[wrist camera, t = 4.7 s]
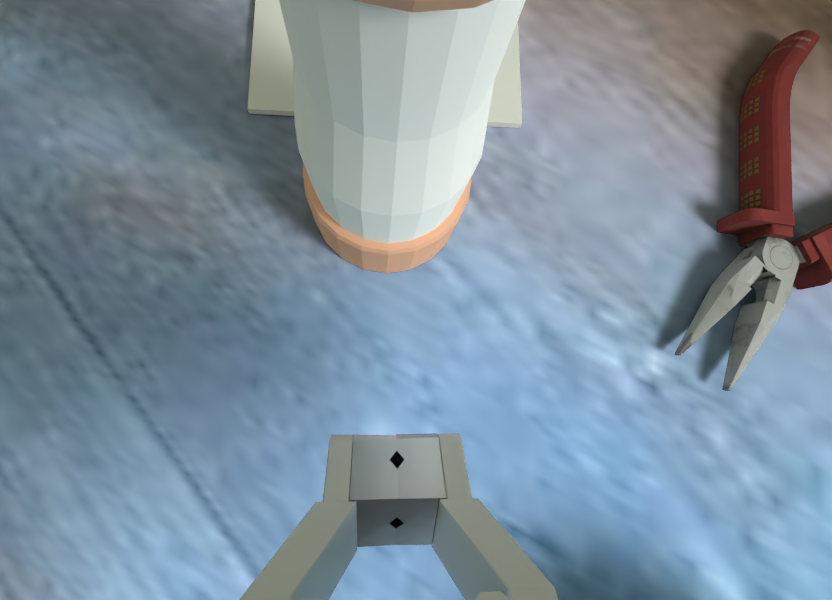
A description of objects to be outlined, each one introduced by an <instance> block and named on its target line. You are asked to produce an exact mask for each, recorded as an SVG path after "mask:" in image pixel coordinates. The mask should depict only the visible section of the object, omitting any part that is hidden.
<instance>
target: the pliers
mask: <svg viewBox="0 0 832 600" xmlns="http://www.w3.org/2000/svg"><path fill="white" fill-rule="evenodd" d="M819 37H820V36H819V35H818V34H816V33H815V32H812V31H809V30H803V31H799V32H796V33H794V34H792V35H790V36H788V37H786V38H785V39H783V40H782V41H781V42H780V43H779V44H778V45H777V46H776V47H775V48H774V49H773V51H772V52H771V53H770V55H769V56H768V57H767V59H766V60H765V62H764V63H763V64H762V66H761V67H760V68H759V70H758V71H757V72H756V74H755V75H754V76H753V78H752V79H751V80H750V82H749V83H748V86H747V88H746V91H745V93H744V96H743V100H742V105H741V112H740V121H739V171H740V211H738V212H735V213H733V214H731V215H729V216H726V217H724V218H722V219H720V220H718V221H717V232H720V233H726V234H733V235H738V238H739V245H742V246H747V247H748V248H745V249H744V250H742V251H741V253H740V254H739V255H738V256H737V257H736V258H735V259H734V260H733V261H732V262H731V263H730V264H729V265H728V266H727V267H726V268H725V269H724V271H723V272H722V273H721V274H720V275H719V276H718V278H717V279H716V280H715V281H714V282H713V284H712V285H711V287H710V288H709V290H708V292H707V294H706V296H705V298H704V300H703V302H702V303H701V305H700V307H699V309H698V311H697V313H696V315H695V317H694V318H693V320H692V322H691V324H690V326H689V328H688V330H687V332H686V333H685V335H684V337H683V339H682V341H681V343H680V345H679V347H678V348H677V350H676V352H675V355H681V354H682V353H684V352H685V351H686V350H687V349H688V348H689V347H690V346H691V345H692V344H693V343H695V342H696V341H697V340H698V339H699V338H700V337H701V336H702V335H703V334H705V333H706V332H707V331H708V330H709V329H710V328H711V327H712V326H713V325H714V324H716V323H717V322H718V321H719V320H720V319H721V318H722V317H723V316H724V315H726V314H727V313H728V312H729V311H730V310H731V309H732V308H733V307H734V306H735V305H736V304H737V303H738V302H739V301H740V300H741V299H742V298H743V297H744V296H745V295H746V294H747V293H748V292H749V291H750V290H751V289H752V288H750V286H752V287H753V288H754V289H755V292H756V300H755V302H754V303H750V304H745V305H741V308H740V311H739V314H738V317H737V321H736V324H735V327H734V332H733V337H732V342H731V348H730V353H729V358H728V363H727V368H726V373H725V379H724V384H723V389H722V390H725V391H730V389H731V388H732V386H733V385H734V383H735V382H736V381H737V379H738V378H739V376H740V375H741V373H742V372H743V370H744V369H745V367H746V366H747V364H748V363H749V361H750V360H751V358H752V357H753V355H754V354H755V352H756V351H757V350H758V348H759V347H760V345H761V344H762V342H763V341H764V339H765V338H766V336H767V335H768V333H769V332H770V330H771V329H772V327H773V326H774V324H775V323H776V321H777V320H778V318H779V317H780V315H781V313H782V311H783V309H784V307H785V304H786V302H787V300H788V297H789V295H790V292H791V289H792V286H793V283H794V284H795V286H796V288H797V289H805V288H810V287H815V286H820V285H825V284H827V283H829V282H831V281H832V223H830V224H828V225H826V226H824V227H822V228H820V229H817V230H815V231H813V232H811V233H809V234H807V235H805V236H802V237H800V238H798V239H796V240H794V241H792V242H790V243H789V242H788V241H786V239H789V238H792V237H794V236H793V227H794V226H795V214H793V208H792V173H791V139H790V95H791V89H792V84H793V81H794V78H795V75H796V73H797V71H798V68H799V67H800V66H801V64H802V63H803V62H804V60H805V59H806V57H807V56H808V54H809V53H810V51H811V50H812V49H813V47H814V46H815V44H816V43H817V41H818V40H819Z"/></svg>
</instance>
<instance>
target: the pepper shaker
mask: <svg viewBox="0 0 832 600" xmlns="http://www.w3.org/2000/svg"><path fill="white" fill-rule="evenodd" d="M279 2H280V6H281V10H282V15H283V19H284V23H285V27H286V31H287V35H288V39H289V44H290V48H291V52H292V57H293V88H294V120H295V129H296V136H297V144H298V150H299V153H300V155H301V158H302V160H303V163H304V164H303V169H302V172H303V180H304V187H305V195H306V198H307V201H308V203H309V206H310V209H311V211H312V214H313V217H314V219H315V222H316V224H317V226H318V228H319V230H320V232H321V234H322V236H323V238H324V240H325V242H326V243H327V244H328V245H329V246H330V247H331V248H332V249H333V250H334V251H335V252H336V253H337V254H338V255H339V256H340V257H341V258H342V259H344V260H346V261H348V262H350V263H352V264H354V265H356V266H358V267H360V268H362V269H364V270H370V271H376V272H382V273H391V272H398V271H405V270H410V269H412V268H414V267H416V266H418V265H420V264H423V263H425V262H427V261H429V260H430V259H431V258H432V257H433V256H434V255H435V254H436V253H437V252H438V251H439V250H440V249H442V248H443V247H444V246H445V245H446V243H447V241H448V239H449V237H450V235H451V233H452V231H453V229H454V228H455V226H456V224H457V222H458V220H459V218H460V216H461V214H462V212H463V210H464V208H465V206H466V204H467V202H468V200H469V193H470V186H471V179H472V174H473V172H474V170H475V168H476V166H477V165H478V163H479V161H480V159H481V157H482V151H483V145H484V139H485V133H486V127H487V121H488V115H489V109H490V103H491V97H492V91H493V85H494V80H495V78H496V75H497V73H498V70H499V67H500V65H501V62H502V60H503V57H504V55H505V52H506V49H507V47H508V44H509V42H510V39H511V36H512V34H513V31H514V29H515V26H516V24H517V21H518V18H519V16H520V13H521V11H522V8H523V6H524V3H525V0H279Z"/></svg>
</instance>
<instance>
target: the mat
mask: <svg viewBox="0 0 832 600" xmlns="http://www.w3.org/2000/svg"><path fill="white" fill-rule="evenodd" d="M248 111H249V113H250V114H267V115H286V116H294V88H293V57H292V52H291V48H290V44H289V39H288V35H287V31H286V27H285V23H284V19H283V15H282V10H281V6H280V2H279V0H255V14H254V27H253V41H252V54H251V68H250V81H249V95H248ZM521 125H522V106H521V83H520V60H519V37H518V21H517V24H516V26H515V29H514V31H513V34H512V36H511V39H510V42H509V44H508V47H507V49H506V52H505V55H504V57H503V60H502V62H501V65H500V67H499V70H498V73H497V75H496V78H495V80H494V85H493V91H492V97H491V103H490V109H489V115H488V121H487V126H493V127H512V128H520V127H521Z"/></svg>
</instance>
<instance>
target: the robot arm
mask: <svg viewBox="0 0 832 600" xmlns="http://www.w3.org/2000/svg"><path fill="white" fill-rule="evenodd" d="M382 545H432V547H433V549H434V551H435V552H436V554H437V555H438V557H439V559H440V560H441V562H442V563H443V565H444V567H445V568H446V570H447V572H448V573H449V575H450V576H451V578H452V580H453V581H454V583H455V584H456V586H457V588H458V589H459V591H460V592H461V594H462V596H463V597H464V599H465V600H558V597H557V593H556V590H555V587H554V586H553V585H552V584H551V582H550V581H549V580H548V579H547V578H546V577H545V575H544V574H543V573H542V572H541V571H540V570H539V568H538V567H537V566H536V565H535V564H534V563H533V561H532V560H531V559H530V558H529V557H528V556H527V555H526V553H525V552H524V551H523V550H522V549H521V548H520V546H519V545H518V544H517V543H516V542H515V541H514V539H513V538H512V537H511V536H510V535H509V534H508V532H507V531H506V530H505V529H504V528H503V527H502V525H501V524H500V523H499V522H498V521H497V520H496V519H495V517H494V516H493V515H492V514H491V513H490V512H489V510H488V509H487V508H486V507H485V506H484V505H483V503H482V502H481V501H480V500H479V499H475V498H472V496H471V491H470V485H469V479H468V474H467V468H466V463H465V457H464V451H463V446H462V440H461V437H460V435H459V434H438V435H437V434H397V435H331V438H330V441H329V450H328V459H327V467H326V476H325V485H324V493H323V502H316V503H315V504H314V505H313V506H312V508H311V509H310V510H309V511H308V513H307V514H306V515H305V517H304V518H303V519H302V520H301V522H300V523H299V524H298V526H297V527H296V528H295V529H294V531H293V532H292V533H291V534H290V536H289V537H288V538H287V540H286V541H285V542H284V543H283V545H282V546H281V547H280V548H279V550H278V551H277V552H276V554H275V555H274V556H273V557H272V559H271V560H270V561H269V563H268V564H267V565H266V566H265V568H264V569H263V570H262V571H261V573H260V574H259V575H258V577H257V578H256V579H255V580H254V582H253V583H252V584H251V585H250V587H249V588H248V589H247V591H246V592H245V593H244V594H243V596H242V597H241V598H240V600H329V598H330V596H331V595H332V593H333V591H334V589H335V588H336V586H337V584H338V582H339V581H340V579H341V577H342V575H343V574H344V572H345V570H346V568H347V567H348V565H349V563H350V561H351V560H352V558H353V556H354V554H355V553H356V551H357V547H365V546H382Z"/></svg>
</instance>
